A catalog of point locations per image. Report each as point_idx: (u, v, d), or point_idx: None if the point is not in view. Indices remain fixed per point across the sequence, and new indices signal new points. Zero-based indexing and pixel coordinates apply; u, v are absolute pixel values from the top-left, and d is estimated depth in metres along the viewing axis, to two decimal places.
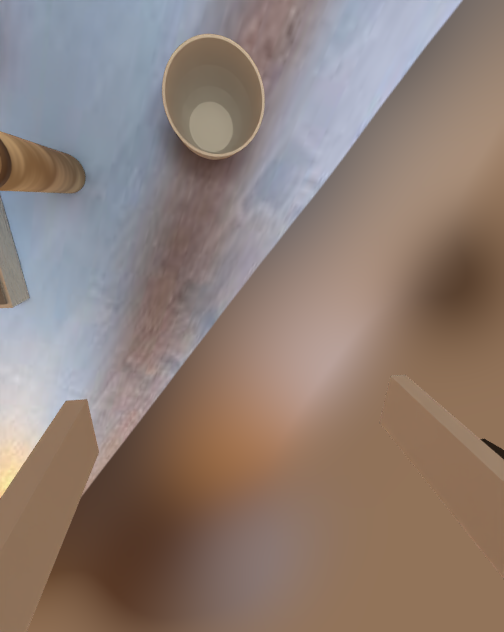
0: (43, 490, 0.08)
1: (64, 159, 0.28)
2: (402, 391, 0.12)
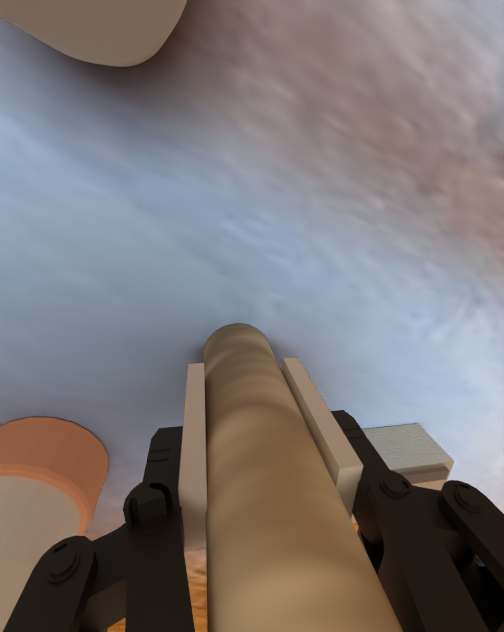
0: (205, 420, 0.11)
1: (226, 366, 0.13)
2: (288, 371, 0.14)
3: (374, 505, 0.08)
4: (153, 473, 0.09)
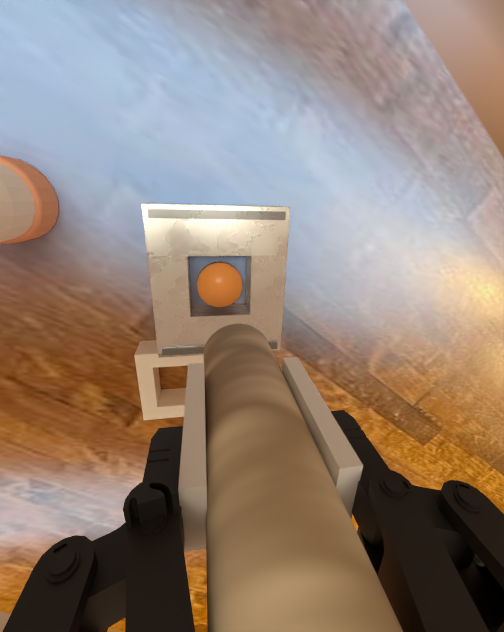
0: (205, 420, 0.11)
1: (226, 366, 0.13)
2: (287, 371, 0.14)
3: (374, 505, 0.08)
4: (153, 473, 0.09)
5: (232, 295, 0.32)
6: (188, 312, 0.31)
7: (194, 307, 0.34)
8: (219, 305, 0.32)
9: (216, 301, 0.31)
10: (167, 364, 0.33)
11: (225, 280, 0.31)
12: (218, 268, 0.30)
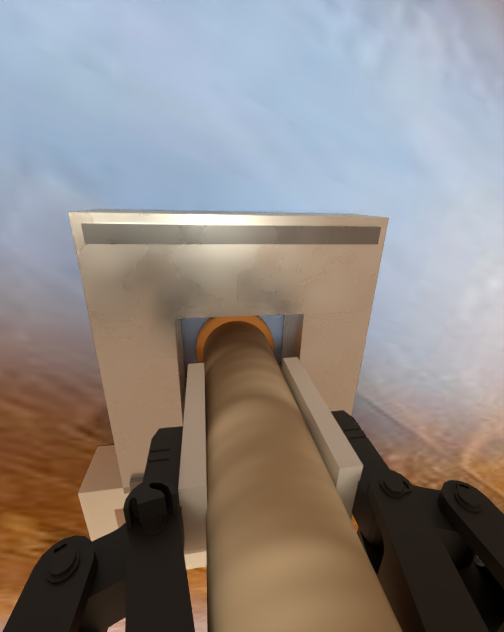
0: (205, 420, 0.11)
1: (225, 361, 0.13)
2: (287, 371, 0.14)
3: (374, 505, 0.08)
4: (153, 473, 0.09)
5: None
6: (179, 418, 0.16)
7: None
8: None
9: None
10: None
11: None
12: None
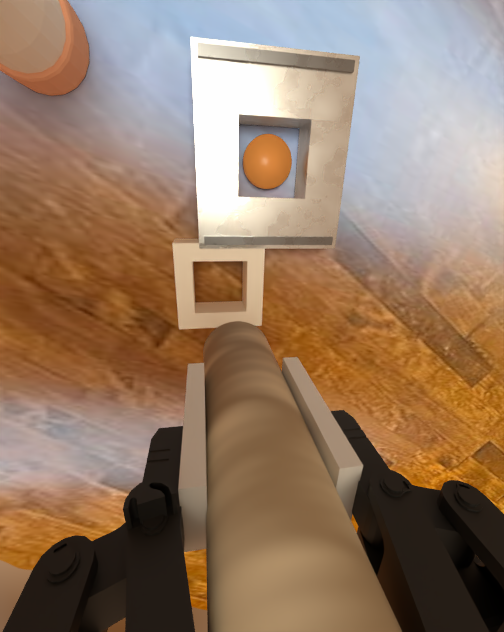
0: (205, 420, 0.11)
1: (225, 362, 0.13)
2: (287, 371, 0.14)
3: (374, 505, 0.08)
4: (153, 473, 0.09)
5: (280, 175, 0.29)
6: (236, 190, 0.27)
7: None
8: (266, 186, 0.29)
9: (263, 181, 0.29)
10: (208, 258, 0.29)
11: (274, 155, 0.28)
12: (267, 140, 0.28)
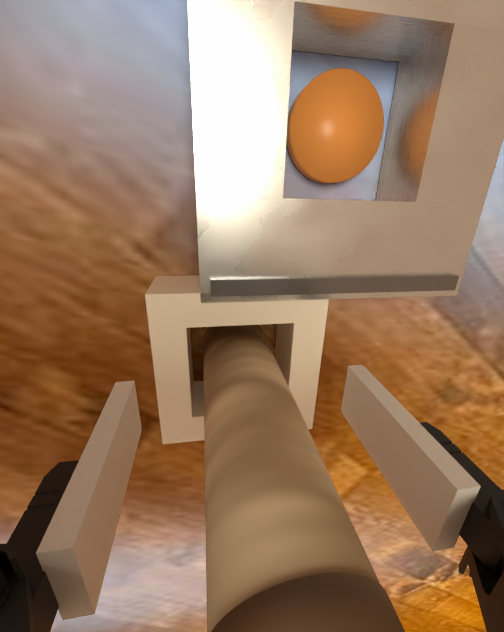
0: (112, 453, 0.09)
1: (223, 350, 0.14)
2: (357, 380, 0.13)
3: (495, 522, 0.08)
4: (28, 524, 0.08)
5: (359, 155, 0.15)
6: (279, 185, 0.13)
7: None
8: (330, 178, 0.15)
9: (325, 167, 0.15)
10: (219, 320, 0.14)
11: (351, 115, 0.14)
12: (340, 81, 0.14)
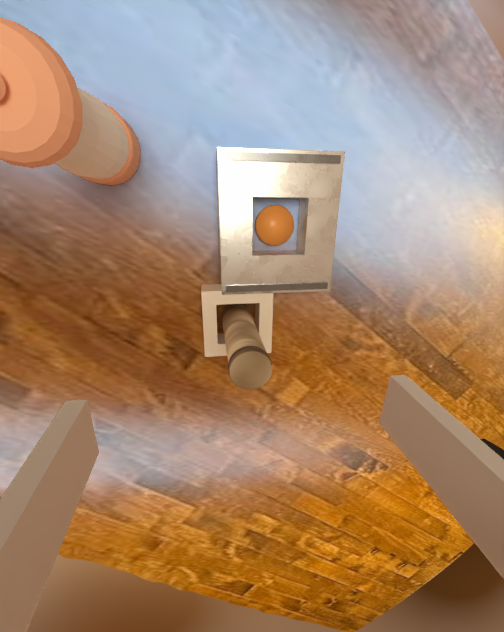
0: (43, 490, 0.08)
1: (230, 313, 0.36)
2: (402, 391, 0.12)
3: None
4: None
5: (285, 234, 0.37)
6: (250, 251, 0.34)
7: (251, 251, 0.37)
8: (273, 243, 0.37)
9: (271, 240, 0.37)
10: (229, 301, 0.36)
11: (280, 220, 0.36)
12: (274, 209, 0.36)
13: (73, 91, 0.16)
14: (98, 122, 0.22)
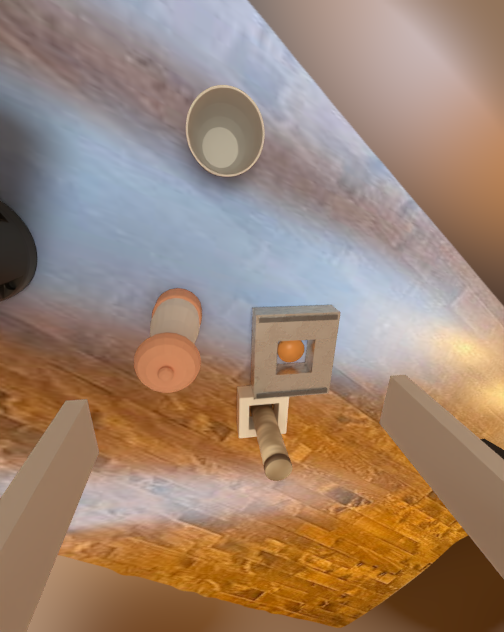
0: (43, 490, 0.08)
1: (259, 411, 0.52)
2: (402, 391, 0.12)
3: None
4: None
5: (297, 355, 0.52)
6: (274, 372, 0.50)
7: None
8: (289, 361, 0.52)
9: (288, 359, 0.52)
10: (258, 403, 0.52)
11: (294, 347, 0.51)
12: (291, 341, 0.51)
13: (199, 360, 0.32)
14: (194, 337, 0.37)
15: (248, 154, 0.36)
